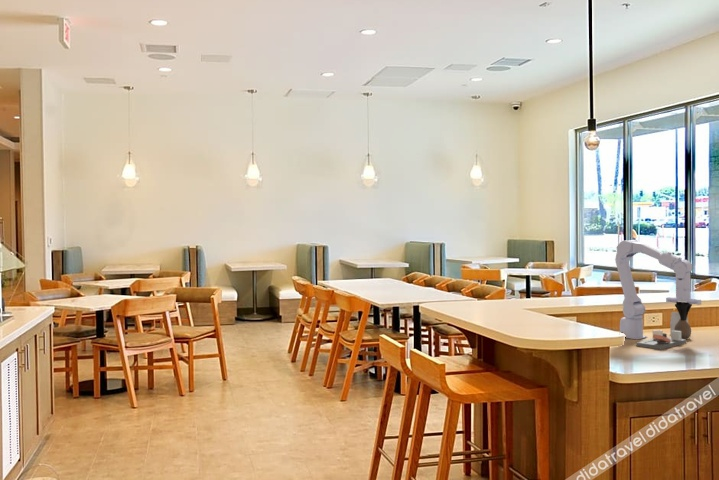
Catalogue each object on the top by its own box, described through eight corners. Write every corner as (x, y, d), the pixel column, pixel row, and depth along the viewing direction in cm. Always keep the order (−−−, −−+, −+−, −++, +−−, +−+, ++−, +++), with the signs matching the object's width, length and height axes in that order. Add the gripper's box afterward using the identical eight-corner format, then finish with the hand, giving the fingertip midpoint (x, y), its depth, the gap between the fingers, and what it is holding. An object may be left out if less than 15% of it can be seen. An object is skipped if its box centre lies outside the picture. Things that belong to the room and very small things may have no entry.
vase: (687, 337, 315) (687, 317, 315) (693, 340, 308) (693, 320, 308) (671, 337, 316) (671, 317, 315) (677, 340, 309) (677, 320, 309)
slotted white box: (671, 339, 301) (671, 330, 301) (674, 339, 302) (674, 330, 302) (678, 340, 298) (678, 331, 298) (681, 339, 300) (681, 330, 300)
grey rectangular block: (685, 335, 320) (685, 313, 320) (670, 334, 324) (670, 312, 324) (688, 334, 323) (688, 312, 322) (673, 332, 327) (672, 311, 327)
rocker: (652, 337, 294) (653, 334, 294) (661, 341, 298) (661, 338, 298) (661, 339, 291) (662, 335, 291) (670, 342, 295) (670, 339, 295)
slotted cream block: (652, 338, 304) (652, 330, 304) (655, 338, 305) (655, 329, 305) (659, 339, 301) (659, 330, 301) (662, 339, 303) (662, 330, 303)
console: (636, 346, 298) (636, 340, 298) (662, 339, 310) (662, 334, 310) (660, 349, 289) (660, 343, 289) (686, 343, 301) (686, 337, 301)
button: (656, 337, 308) (656, 333, 308) (660, 336, 310) (660, 332, 310) (663, 338, 305) (663, 334, 305) (668, 337, 307) (668, 333, 307)
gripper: (662, 288, 304) (662, 319, 304) (694, 290, 292) (695, 323, 293) (670, 286, 308) (671, 317, 308) (703, 289, 296) (704, 321, 297)
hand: (683, 320), depth 301 cm, fingers closed
